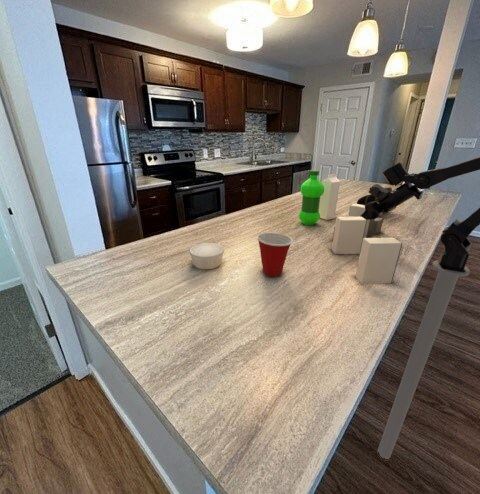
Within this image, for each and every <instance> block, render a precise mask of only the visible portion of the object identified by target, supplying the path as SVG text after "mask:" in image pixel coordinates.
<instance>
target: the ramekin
mask: <svg viewBox="0 0 480 494" xmlns="http://www.w3.org/2000/svg"><path fill="white" fill-rule="evenodd" d="M224 253H225V249H224V246H223V245H221V244H219V243H215V242H204V243H199V244H198V243H197V244H196V245H193V246H192V247H190V248H189V255H190V258H191V261H192V264H193V266H194V267H195V268H197V269H199V270H200V269H201V270H212V269H216V268H218V267H219V266H220V265H221V264H222V263H223V256H224Z"/></svg>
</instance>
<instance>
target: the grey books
mask: <svg viewBox="0 0 480 494" xmlns="http://www.w3.org/2000/svg"><path fill="white" fill-rule="evenodd" d="M383 223H384V218H382V217H378V218H376V219H374V224H373V229H372V233H371V235H377V234H379V233H381V231H382V228H383ZM334 231H335V226H334V228H333V235H332V238H333V237H334ZM332 242H333V239H332Z"/></svg>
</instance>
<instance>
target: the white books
mask: <svg viewBox="0 0 480 494" xmlns="http://www.w3.org/2000/svg"><path fill="white" fill-rule="evenodd" d="M335 218H336V219H335V223H334V224H335V225H334V227H335V231H334V230H333V233H334V237H333V236H332V240H333V241H332V245H331V251H332V252H333V253H334V254H335V255H359V258H358V263H357V266H356V272H355V278H356V279H357V281H358V282H359V283H360V284H361V285H373V284H393V281H394V277H395V273H396V271H397V266H398V261H399V258H400V255H401V252H402V247H403V242H401V240H399V239H397V238H395V237H371V238H363V237H364V232H365V227H366V222H367V220H366V219H365V218H363V217H348V216H336V217H335Z"/></svg>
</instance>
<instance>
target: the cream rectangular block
mask: <svg viewBox="0 0 480 494" xmlns="http://www.w3.org/2000/svg"><path fill="white" fill-rule="evenodd" d="M349 206H350V207H349V211H348V215H347V217H360V216H361V215H362V214H363V213H364V211H365V205H360V204H357V203H353V204H350V205H349ZM373 224H374V219H370V220H367V222H366V227H365V232H364V237H363V238H372V234H371V233H372V229H373Z"/></svg>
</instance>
